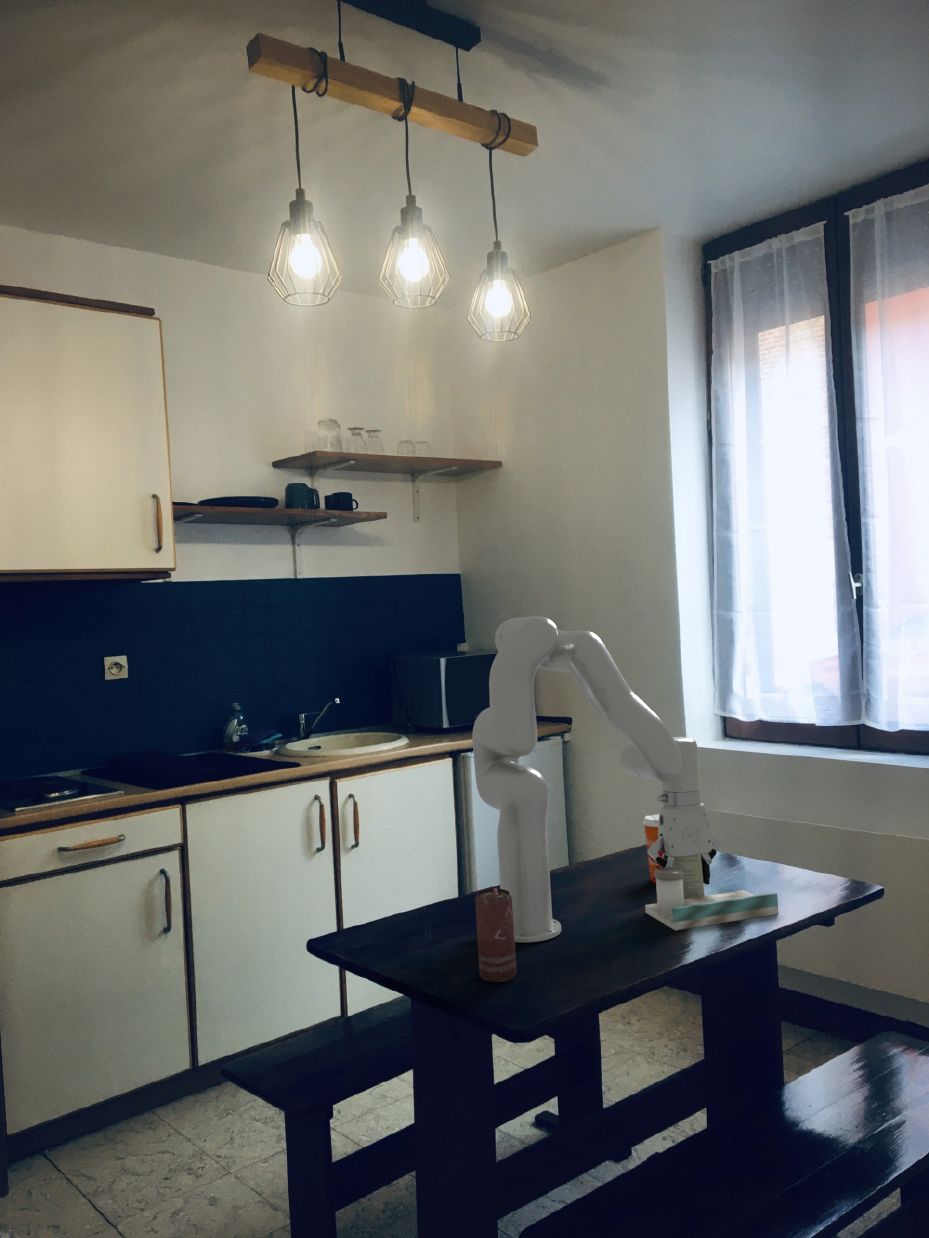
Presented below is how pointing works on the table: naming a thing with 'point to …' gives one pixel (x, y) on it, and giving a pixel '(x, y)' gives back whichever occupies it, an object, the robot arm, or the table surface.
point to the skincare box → (691, 875)
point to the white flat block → (717, 909)
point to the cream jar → (669, 890)
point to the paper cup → (652, 841)
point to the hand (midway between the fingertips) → (687, 884)
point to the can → (495, 935)
